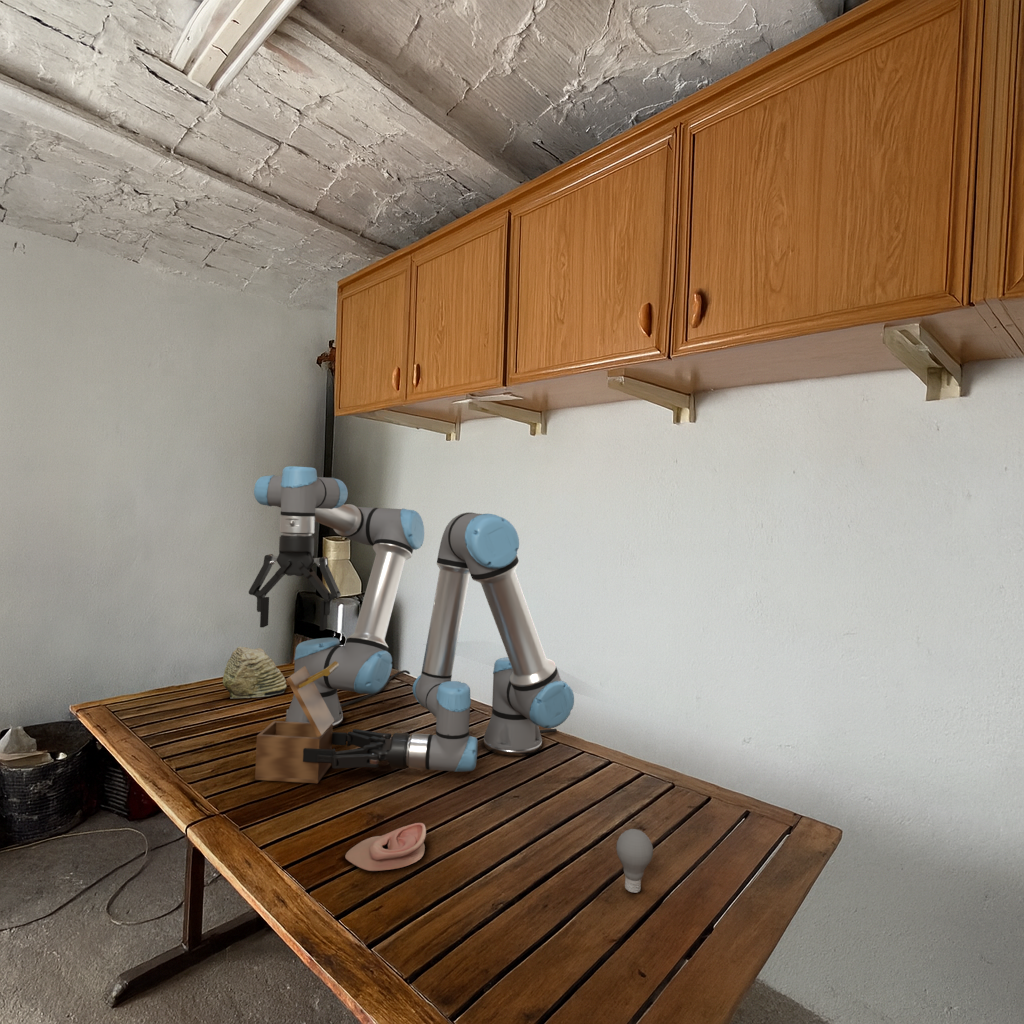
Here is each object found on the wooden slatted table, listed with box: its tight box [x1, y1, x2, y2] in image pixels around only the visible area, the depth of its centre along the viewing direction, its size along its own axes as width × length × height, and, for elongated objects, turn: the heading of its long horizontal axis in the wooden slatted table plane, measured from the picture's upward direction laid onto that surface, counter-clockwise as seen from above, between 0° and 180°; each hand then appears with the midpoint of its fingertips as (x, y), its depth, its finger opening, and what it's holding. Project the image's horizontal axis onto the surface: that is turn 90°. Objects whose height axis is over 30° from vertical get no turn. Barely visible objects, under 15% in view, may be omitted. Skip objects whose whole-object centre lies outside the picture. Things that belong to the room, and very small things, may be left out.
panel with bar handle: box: [285, 661, 339, 737], centre depth 144 cm, size 15×9×9 cm
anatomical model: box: [344, 822, 427, 872], centre depth 113 cm, size 13×4×12 cm
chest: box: [254, 720, 334, 784], centre depth 145 cm, size 14×9×10 cm
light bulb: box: [615, 828, 654, 894], centre depth 106 cm, size 6×6×10 cm
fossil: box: [222, 646, 288, 699], centre depth 198 cm, size 9×18×15 cm, turn 132°
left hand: (293, 627), depth 144 cm, fingers open, 13 cm apart
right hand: (311, 745), depth 144 cm, fingers closed on chest, 9 cm apart
